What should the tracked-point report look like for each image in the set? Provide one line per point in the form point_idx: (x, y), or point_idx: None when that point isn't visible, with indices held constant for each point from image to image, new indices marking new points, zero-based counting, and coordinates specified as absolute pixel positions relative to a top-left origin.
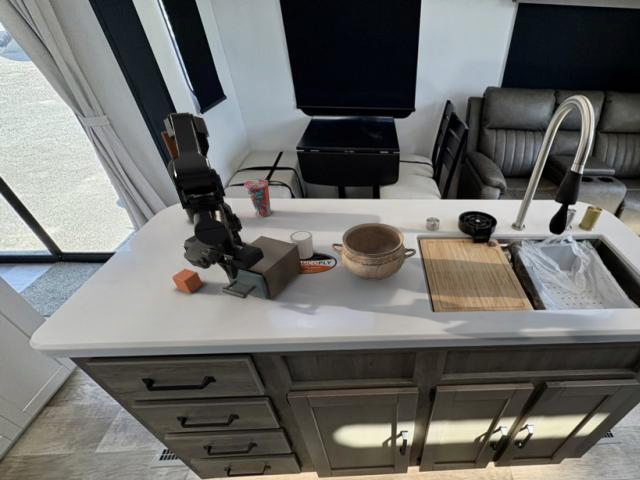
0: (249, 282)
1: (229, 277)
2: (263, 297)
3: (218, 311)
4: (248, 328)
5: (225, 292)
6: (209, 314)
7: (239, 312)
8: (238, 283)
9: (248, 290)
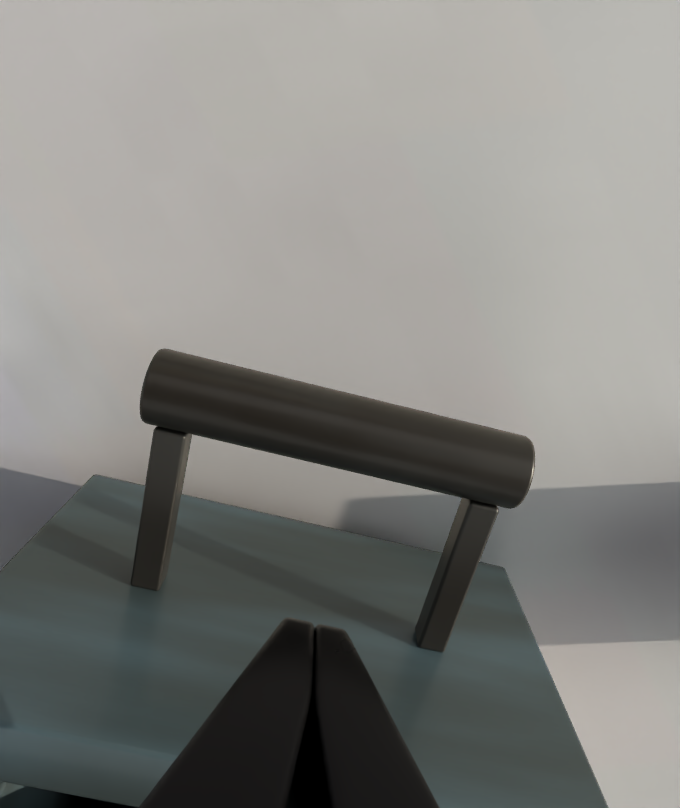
0: (199, 627)
1: (526, 684)
2: (114, 486)
3: (517, 258)
4: (65, 41)
5: (459, 423)
6: (594, 198)
7: (293, 276)
8: (402, 615)
9: (161, 496)
